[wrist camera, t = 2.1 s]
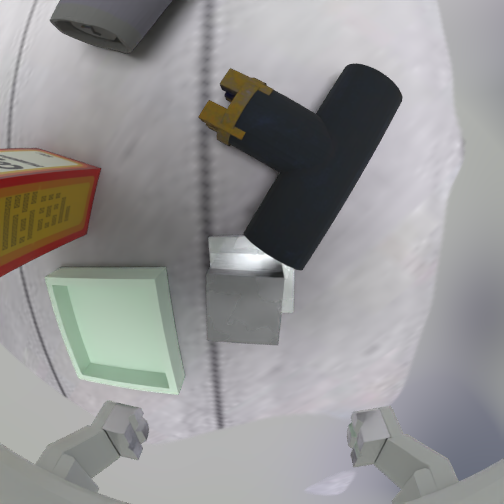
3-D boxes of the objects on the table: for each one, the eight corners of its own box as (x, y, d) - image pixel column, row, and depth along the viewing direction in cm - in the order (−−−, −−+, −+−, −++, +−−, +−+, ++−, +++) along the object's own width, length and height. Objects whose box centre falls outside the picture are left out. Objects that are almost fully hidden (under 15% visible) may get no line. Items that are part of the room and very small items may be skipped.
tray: (89, 364, 29) (78, 378, 26) (61, 267, 26) (44, 277, 23) (185, 376, 29) (178, 394, 26) (166, 267, 25) (154, 279, 22)
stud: (215, 310, 26) (207, 337, 22) (209, 235, 24) (198, 250, 20) (292, 309, 26) (298, 336, 21) (293, 233, 24) (300, 248, 19)
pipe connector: (154, 190, 17) (271, 9, 14) (176, 188, 23) (269, 41, 19) (308, 279, 19) (414, 96, 15) (298, 257, 24) (385, 111, 20)
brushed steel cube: (218, 307, 25) (207, 340, 20) (218, 252, 24) (206, 273, 18) (275, 311, 25) (278, 345, 19) (279, 255, 24) (284, 278, 18)
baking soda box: (101, 168, 23) (-47, 187, 7) (86, 234, 24) (-41, 301, 9) (36, 147, 22) (-88, 158, 7) (25, 206, 24) (-88, 244, 8)
